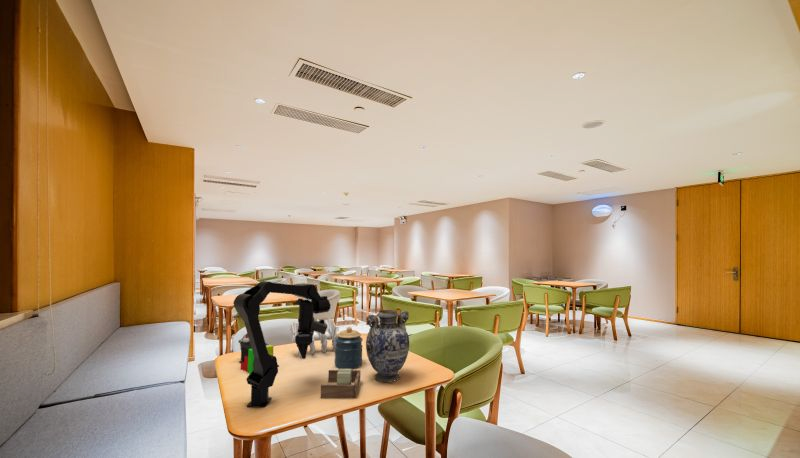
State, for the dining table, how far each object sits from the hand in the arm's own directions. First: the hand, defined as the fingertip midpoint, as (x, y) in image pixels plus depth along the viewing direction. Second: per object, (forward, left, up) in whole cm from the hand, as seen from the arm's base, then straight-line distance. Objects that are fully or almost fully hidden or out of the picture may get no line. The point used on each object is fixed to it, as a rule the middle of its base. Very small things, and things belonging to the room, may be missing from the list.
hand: (304, 355), depth 134 cm
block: (-3, -16, -12) cm, 21 cm away
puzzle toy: (+20, +27, -13) cm, 36 cm away
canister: (+25, -14, -12) cm, 32 cm away
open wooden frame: (-3, -15, -12) cm, 20 cm away
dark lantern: (+29, +36, -12) cm, 48 cm away
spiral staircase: (+43, +5, -13) cm, 45 cm away
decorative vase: (+10, -33, -12) cm, 37 cm away
